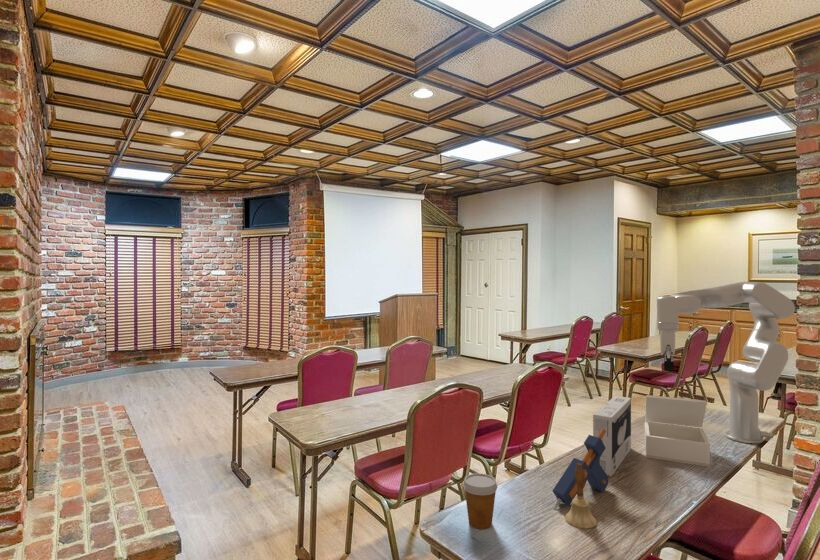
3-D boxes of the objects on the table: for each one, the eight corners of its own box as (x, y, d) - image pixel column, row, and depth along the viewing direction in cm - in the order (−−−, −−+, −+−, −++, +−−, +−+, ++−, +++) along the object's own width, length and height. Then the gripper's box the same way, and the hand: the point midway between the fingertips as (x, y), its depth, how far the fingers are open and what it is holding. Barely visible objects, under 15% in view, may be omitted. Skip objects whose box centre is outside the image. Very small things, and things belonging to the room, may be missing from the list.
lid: (701, 427, 178) (701, 425, 179) (707, 402, 166) (706, 400, 167) (645, 420, 186) (645, 418, 187) (646, 396, 174) (646, 394, 175)
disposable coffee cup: (504, 522, 127) (504, 479, 127) (485, 537, 120) (485, 491, 120) (475, 510, 133) (475, 469, 133) (456, 524, 126) (455, 480, 126)
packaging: (611, 476, 155) (611, 417, 154) (592, 471, 158) (592, 414, 158) (631, 448, 179) (631, 397, 179) (614, 445, 183) (614, 395, 182)
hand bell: (576, 530, 122) (576, 471, 122) (559, 514, 131) (559, 459, 130) (603, 526, 124) (603, 468, 124) (584, 511, 132) (584, 456, 132)
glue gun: (565, 532, 139) (545, 501, 134) (604, 452, 155) (588, 422, 150) (583, 541, 134) (563, 509, 129) (622, 457, 150) (606, 426, 145)
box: (702, 449, 178) (702, 428, 178) (709, 466, 162) (709, 444, 161) (644, 441, 186) (644, 421, 186) (646, 457, 170) (646, 436, 170)
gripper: (657, 323, 194) (658, 363, 195) (657, 328, 179) (658, 372, 180) (678, 324, 191) (679, 365, 191) (679, 329, 176) (680, 373, 176)
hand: (668, 368), depth 185 cm, fingers open, 9 cm apart
